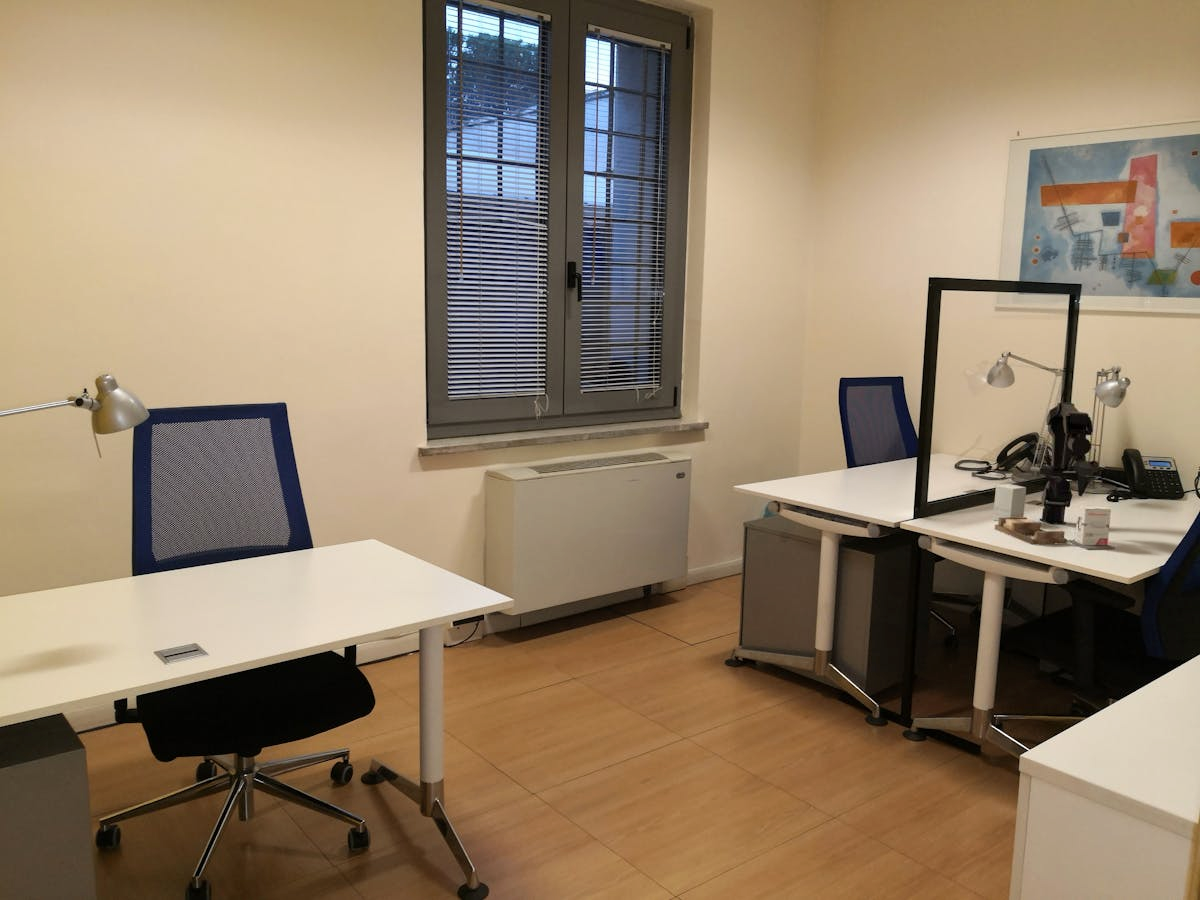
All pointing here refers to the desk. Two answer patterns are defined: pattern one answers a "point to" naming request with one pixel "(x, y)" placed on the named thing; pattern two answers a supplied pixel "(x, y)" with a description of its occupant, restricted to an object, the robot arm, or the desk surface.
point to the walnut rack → (1029, 531)
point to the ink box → (1092, 525)
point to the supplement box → (1009, 501)
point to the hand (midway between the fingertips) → (1068, 496)
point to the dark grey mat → (1091, 546)
